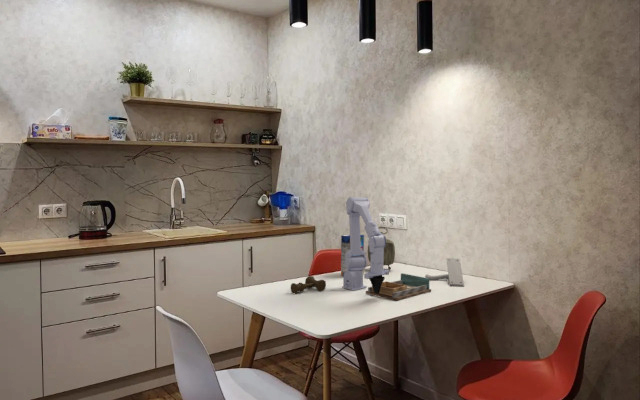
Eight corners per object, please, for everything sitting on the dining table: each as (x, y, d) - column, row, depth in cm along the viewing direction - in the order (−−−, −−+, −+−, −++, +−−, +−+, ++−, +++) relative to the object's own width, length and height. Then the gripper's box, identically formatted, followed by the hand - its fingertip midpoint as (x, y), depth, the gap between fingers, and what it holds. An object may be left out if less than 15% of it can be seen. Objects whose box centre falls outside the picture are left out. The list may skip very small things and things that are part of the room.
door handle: (462, 296, 239) (458, 270, 256) (463, 284, 235) (459, 258, 252) (426, 294, 242) (424, 268, 259) (427, 282, 238) (425, 256, 254)
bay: (396, 300, 207) (396, 287, 207) (365, 293, 221) (365, 280, 220) (431, 291, 225) (431, 278, 225) (400, 284, 238) (400, 273, 238)
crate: (392, 296, 210) (392, 289, 210) (371, 291, 219) (372, 284, 219) (406, 292, 217) (406, 285, 217) (385, 288, 226) (386, 281, 226)
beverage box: (340, 275, 260) (341, 235, 258) (354, 273, 267) (354, 233, 266) (350, 277, 255) (350, 236, 254) (363, 274, 262) (364, 234, 261)
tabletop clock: (392, 269, 279) (392, 226, 278) (395, 272, 270) (396, 228, 269) (367, 269, 278) (367, 226, 277) (370, 272, 269) (370, 228, 268)
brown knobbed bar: (286, 293, 223) (319, 285, 236) (299, 297, 216) (332, 289, 229) (286, 280, 223) (319, 273, 236) (299, 284, 215) (332, 277, 228)
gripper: (372, 265, 203) (372, 297, 204) (394, 261, 213) (394, 291, 214) (360, 263, 209) (360, 294, 209) (382, 259, 218) (381, 288, 219)
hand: (376, 292), depth 212 cm, fingers closed
